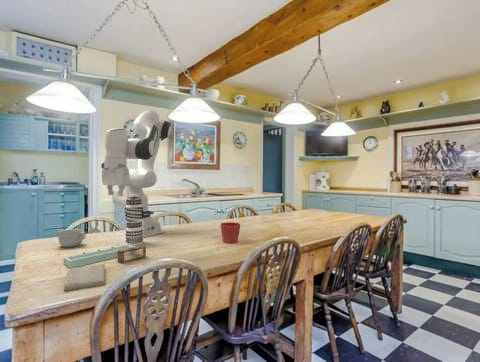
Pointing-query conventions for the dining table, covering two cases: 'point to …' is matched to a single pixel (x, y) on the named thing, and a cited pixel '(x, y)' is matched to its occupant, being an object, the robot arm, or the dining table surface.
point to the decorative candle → (134, 220)
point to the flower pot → (230, 232)
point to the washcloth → (85, 277)
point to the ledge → (93, 256)
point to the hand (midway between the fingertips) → (115, 195)
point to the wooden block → (131, 254)
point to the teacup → (71, 237)
